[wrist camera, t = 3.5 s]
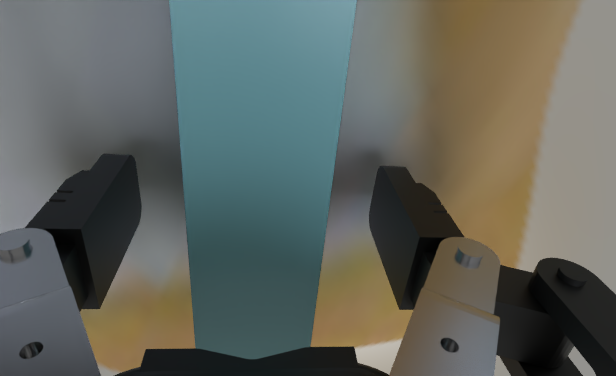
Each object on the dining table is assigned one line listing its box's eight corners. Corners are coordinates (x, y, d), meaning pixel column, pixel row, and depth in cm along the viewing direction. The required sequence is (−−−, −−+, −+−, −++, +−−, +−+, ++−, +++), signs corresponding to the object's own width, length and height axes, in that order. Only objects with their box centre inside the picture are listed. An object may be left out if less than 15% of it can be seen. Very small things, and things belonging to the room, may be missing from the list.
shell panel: (210, -354, 8) (96, -933, 3) (339, -329, 8) (465, -808, 3) (222, 237, 15) (198, 392, 10) (291, 238, 15) (304, 390, 10)
